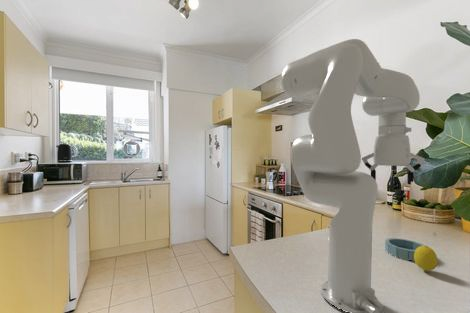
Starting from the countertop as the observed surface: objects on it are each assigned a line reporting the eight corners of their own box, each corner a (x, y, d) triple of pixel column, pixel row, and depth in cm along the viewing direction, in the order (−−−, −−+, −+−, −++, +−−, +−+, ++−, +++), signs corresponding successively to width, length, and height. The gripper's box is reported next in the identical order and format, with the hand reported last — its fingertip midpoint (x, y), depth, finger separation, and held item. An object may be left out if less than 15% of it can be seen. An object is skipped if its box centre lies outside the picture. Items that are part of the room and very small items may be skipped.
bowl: (436, 259, 77) (436, 249, 77) (409, 263, 74) (409, 253, 74) (402, 245, 89) (403, 237, 89) (378, 248, 86) (378, 239, 86)
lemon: (413, 265, 73) (414, 240, 73) (436, 270, 70) (437, 245, 70) (413, 271, 69) (414, 245, 69) (437, 278, 65) (438, 250, 65)
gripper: (423, 131, 73) (422, 183, 74) (363, 133, 83) (362, 179, 83) (427, 129, 67) (426, 186, 68) (361, 132, 77) (360, 182, 77)
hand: (391, 182), depth 76 cm, fingers open, 9 cm apart
